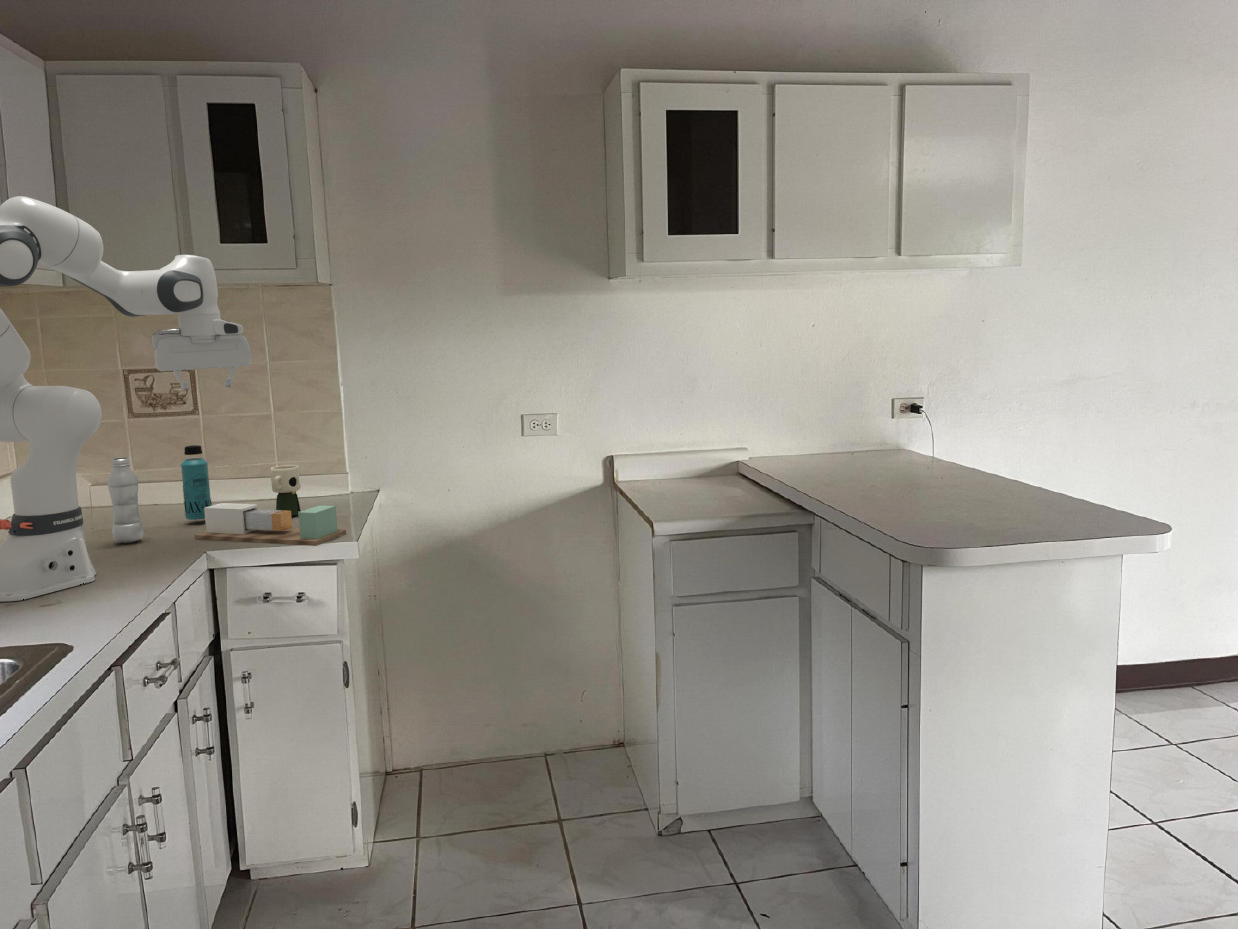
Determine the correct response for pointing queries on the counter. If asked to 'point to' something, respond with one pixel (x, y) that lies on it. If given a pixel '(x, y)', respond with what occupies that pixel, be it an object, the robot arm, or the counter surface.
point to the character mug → (286, 487)
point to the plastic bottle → (124, 502)
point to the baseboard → (270, 537)
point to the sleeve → (227, 518)
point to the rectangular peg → (267, 519)
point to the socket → (317, 522)
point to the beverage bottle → (195, 484)
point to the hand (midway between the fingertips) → (207, 388)
